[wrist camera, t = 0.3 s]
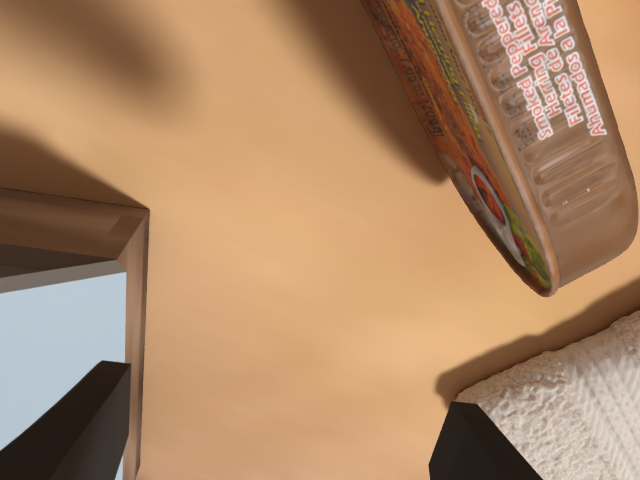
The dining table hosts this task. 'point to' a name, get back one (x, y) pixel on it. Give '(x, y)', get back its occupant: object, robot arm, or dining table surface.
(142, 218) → the box
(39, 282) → the lid
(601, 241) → the tin
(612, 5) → the dining table surface
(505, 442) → the robot arm
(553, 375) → the washcloth
